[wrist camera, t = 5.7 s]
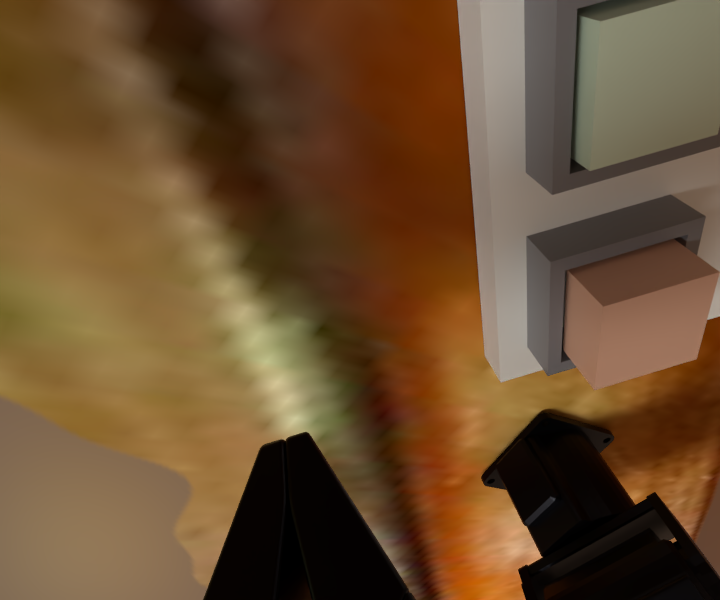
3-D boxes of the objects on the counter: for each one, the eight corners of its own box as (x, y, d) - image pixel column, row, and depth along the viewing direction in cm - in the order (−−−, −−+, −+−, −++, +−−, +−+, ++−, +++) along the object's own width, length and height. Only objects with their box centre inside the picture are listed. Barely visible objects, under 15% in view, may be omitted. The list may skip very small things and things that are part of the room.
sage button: (666, 111, 19) (717, 134, 17) (551, 144, 19) (589, 170, 17) (688, -28, 16) (751, -20, 15) (554, 8, 16) (600, 21, 14)
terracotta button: (656, 321, 24) (696, 358, 22) (562, 349, 23) (594, 390, 21) (672, 238, 21) (719, 272, 19) (566, 269, 21) (603, 306, 19)
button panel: (698, 291, 28) (758, 338, 25) (484, 355, 28) (518, 412, 25) (948, -737, 11) (1232, -991, 8) (408, -620, 11) (486, -844, 8)
